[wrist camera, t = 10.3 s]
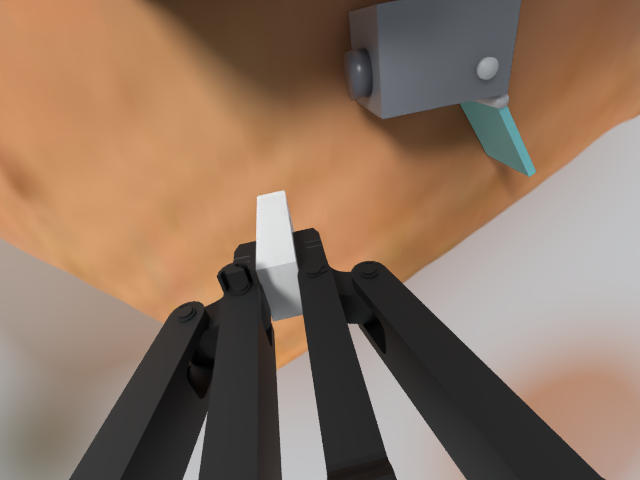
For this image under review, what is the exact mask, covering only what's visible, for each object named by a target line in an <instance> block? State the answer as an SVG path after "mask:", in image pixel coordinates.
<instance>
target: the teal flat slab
mask: <svg viewBox="0 0 640 480" xmlns="http://www.w3.org/2000/svg"><path fill="white" fill-rule="evenodd" d="M508 102H509V96H508V95H507V94H503V95H498V96H493V97H488V98H483V99H479V100H474V101H469V102H464V103H460V105H461V107H462V109H463V111H464V112H465V114H466V116H467V118H468V120H469V122H470V124H471V126H472V128H473V129H474V131H475V133H476V135H477V137H478V139H479V141H480V143H481V145H482V146H483V148H484V150H485V152H486V154H487V155H488V156H490V157H492V158H494V159H496V160H498V161H500V162H502V163H504V164H506V165H507V166H509V167H511V168H513V169H515V170H517V171H519V172H521V173H523V174H525V175H527V176H528V177H530V176H531V175H533V174H534V173H535V172H536V170H535V168H534V166H533V163H532V161H531V159H530V157H529V154H528V152H527V150H526V148H525V145H524V143H523V141H522V138H521V136H520V134H519V132H518V129H517V127H516V125H515V123H514V120H513V118H512V116H511V114H510V111H509V109H508V107H507V104H508Z"/></svg>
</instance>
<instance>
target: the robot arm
mask: <svg viewBox="0 0 640 480" xmlns="http://www.w3.org/2000/svg"><path fill="white" fill-rule="evenodd" d="M217 278H218V281H219V283H220V285H221V287H222V290H223V292H224V296H223V297H222V298H221V299H220V300H218V301H216V302H214V303H212V304H210V305H208V306H206V307H204V305H203V304H202V303H200V302H195V301H193V302H188V303H185V304H183V305H180V306H179V307H178V308H176V309H175V310H174V311H173V312H172V313H171V314H170V315H169V317H168V319H167V320H166V322H165V324H164V325H163V327H162V328H161V330H160V332H159V334H158V335H157V337H156V338H155V340H154V342H153V343H152V345H151V347H150V348H149V350H148V351H147V353H146V355H145V356H144V358H143V360H142V361H141V363H140V364H139V366H138V368H137V369H136V371H135V373H134V374H133V376H132V378H131V379H130V381H129V383H128V384H127V386H126V387H125V389H124V391H123V392H122V394H121V396H120V397H119V399H118V400H117V402H116V404H115V405H114V407H113V409H112V410H111V412H110V414H109V415H108V417H107V419H106V420H105V422H104V424H103V425H102V427H101V429H100V430H99V432H98V433H97V435H96V436H95V438H94V440H93V442H92V443H91V445H90V446H89V448H88V450H87V451H86V453H85V454H84V456H83V458H82V459H81V461H80V463H79V464H78V466H77V468H76V469H75V471H74V472H73V474H72V476H71V477H70V479H69V480H183V477H184V474H185V472H186V469H187V466H188V463H189V461H190V458H191V455H192V452H193V450H194V447H195V444H196V442H197V438H198V436H199V433H200V431H201V428H202V425H203V422H204V420H205V417H206V414H207V411H208V414H207V422H206V428H205V436H204V443H203V450H202V457H201V465H200V472H199V480H282V473H281V453H280V437H279V436H280V435H279V415H278V398H277V397H278V396H277V377H276V357H275V338H274V329H273V326H272V323H271V316H272V319H273V321H277V320H281V319H286V318H290V317H294V316H299V315H303V317H304V324H305V330H306V337H307V344H308V350H309V357H310V363H311V370H312V377H313V382H314V389H315V396H316V402H317V410H318V416H319V423H320V430H321V435H322V443H323V449H324V456H325V463H326V469H327V480H397V479H396V476H395V473H394V470H393V468H392V466H391V464H390V462H389V460H388V457H387V455H386V451H385V448H384V445H383V441H382V438H381V434H380V431H379V428H378V424H377V421H376V418H375V414H374V411H373V408H372V404H371V401H370V398H369V394H368V391H367V388H366V385H365V381H364V378H363V375H362V371H361V368H360V365H359V361H358V358H357V354H356V351H355V348H354V345H353V341H352V338H351V335H350V332H349V328H348V324H347V323H349V324H358V325H359V328H360V329H361V330H362V332H363V333H364V335H365V336H366V338H367V339H368V340H369V342H370V343H371V345H372V346H373V347H374V349H375V350H376V352H377V353H378V355H379V356H380V357H381V359H382V360H383V362H384V363H385V364H386V366H387V367H388V369H389V370H390V371H391V373H392V374H393V376H394V377H395V379H396V380H397V381H398V383H399V384H400V386H401V387H402V389H403V390H404V391H405V393H406V394H407V396H408V397H409V398H410V400H411V401H412V403H413V404H414V406H415V407H416V408H417V410H418V411H419V413H420V414H421V415H422V417H423V418H424V420H425V421H426V423H427V424H428V425H429V427H430V428H431V430H432V431H433V432H434V434H435V435H436V437H437V438H438V440H439V441H440V442H441V444H442V445H443V447H444V448H445V450H446V451H447V452H448V454H449V455H450V457H451V458H452V459H453V461H454V462H455V464H456V465H457V466H458V468H459V469H460V471H461V472H462V474H463V475H464V476H465V478H466V479H467V480H605V479H604V478H602V477H601V476H600V475H599V474H598V473H597V472H596V471H594V469H592V468H591V467H590V466H589V465H588V464H587V463H586V462H585V461H584V460H583V459H582V458H581V457H580V456H579V455H578V454H577V453H576V452H575V451H574V450H573V449H572V448H571V447H570V446H569V445H568V444H567V443H566V442H565V441H563V439H562V438H561V437H560V436H559V435H558V434H556V432H554V431H553V430H552V429H551V428H550V427H549V426H548V425H547V424H546V423H545V422H544V421H543V420H542V419H541V418H540V417H539V416H538V415H537V414H536V413H535V412H534V411H533V410H532V409H531V408H530V407H529V406H528V405H527V404H526V403H525V402H524V401H523V400H522V399H521V398H520V397H519V396H517V395H516V394H515V393H514V392H513V391H512V390H511V389H510V388H509V387H508V386H507V385H506V384H505V383H504V382H503V381H502V380H501V379H500V378H499V377H498V376H497V375H496V374H495V373H494V372H493V371H492V370H491V369H490V368H488V367H487V365H486V364H485V363H484V362H483V361H482V360H480V359H479V358H478V357H477V356H476V355H475V354H474V353H473V352H472V351H471V350H470V349H469V348H468V347H467V346H466V345H465V344H464V343H463V342H462V341H461V340H460V339H459V338H458V337H457V336H456V335H455V334H454V333H453V332H452V331H451V330H450V329H449V328H448V327H447V326H446V325H445V324H443V323H442V322H441V321H440V320H439V319H438V318H437V317H436V316H435V315H434V314H433V313H432V312H431V311H430V310H429V309H428V308H427V307H426V306H425V305H424V304H423V303H422V302H421V301H420V300H419V299H418V298H417V297H416V296H415V295H413V293H412V292H411V291H410V290H409V289H408V288H407V287H405V286H404V285H403V284H402V283H401V282H400V281H399V280H398V279H397V278H396V277H395V276H394V275H393V274H392V273H391V272H390V271H389V270H388V269H387V268H386V267H385V266H384V265H382V264H381V263H379V262H375V261H365V262H361V263H359V264H357V265H355V266H354V268H353V269H352V271H351V272H341V271H337V270H334V269H332V268H331V267H330V266H329V264H328V262H327V259H326V255H325V252H324V249H323V245H322V242H321V239H320V235H319V232H317V231H316V230H315V229H314V228H310V229H305V230H301V231H296V232H294V228H293V224H292V220H291V215H290V211H289V207H288V203H287V199H286V194H285V190H284V191H279V192H274V193H270V194H265V195H260V196H257V230H256V241H254V242H249V243H245V244H240V245H239V246H238V248H237V249H236V250H235V252H234V261H233V263H231V264H228V265H227V266H225V267H223V268H222V269H221V270H220V271H219V272H218V275H217Z"/></svg>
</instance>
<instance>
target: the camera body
mask: <svg viewBox="0 0 640 480" xmlns="http://www.w3.org/2000/svg"><path fill="white" fill-rule="evenodd" d="M520 6H521V0H397V1H392V2H386V3H381V4H376V5H372V6H369V7H365V8H361V9H358V10H354V11H350V12H348V13H349V25H350V36H351V47H352V50H350V51H346V52H345V54H344V77H345V83H346V88H347V92H348V95H349V98H350V99H351V100H356V102H358V103H359V104H361V105H362V106H363V107H365V108H366V109H368V110H369V111H371V112H372V113H374V114H375V115H377V116H378V117H380V118H381V119H386V118H391V117H396V116H401V115H406V114H410V113H415V112H420V111H425V110H430V109H435V108H440V107H445V106H449V105H454V104H459V103H464V102H469V101H474V100H479V99H483V98H488V97H493V96H498V95H503V94H507V93H508V87H509V80H510V73H511V67H512V60H513V53H514V47H515V40H516V33H517V26H518V20H519V13H520Z"/></svg>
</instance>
